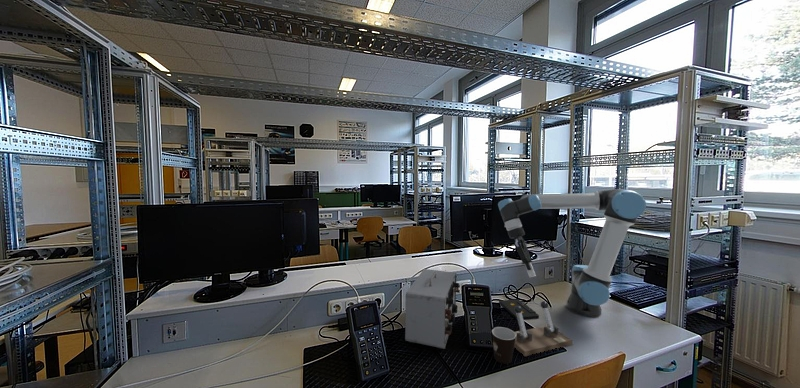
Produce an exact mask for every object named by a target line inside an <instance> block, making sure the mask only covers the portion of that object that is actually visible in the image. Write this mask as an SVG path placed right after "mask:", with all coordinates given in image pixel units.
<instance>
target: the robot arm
mask: <svg viewBox="0 0 800 388" xmlns="http://www.w3.org/2000/svg"><path fill="white" fill-rule="evenodd" d="M497 206H498V209H499V213H500V216H501V218H502V220H503V223H504V228H506V231H507V235H508V236H509V239H513V240H514V242H513V244H514V247H515V249H516V250H517V254H518V256H519V258H520V260H521V265H524V266H525V269H526V273H527V274H528V277H529V278H534V277H537V275H536V272H535V270H534V267H533V265H532V262H533V260H532V258H531V256H530V252H529V250H528V245H527V242H526V241H525V239H524V238H523V236H525V235H526V232H525V230H524V227H523V224H522V221H521V219H520V216H521V215H524V214H527V213H531V212H533V211H537V210H539V209H542V210H543V209H544V210H545V209H546V210H547V209H555V210H556V209H557V210H559V209H594V210H596V211H604V213H603V217H604V218H605V221H604V224H603V227H602V229H601V231H600V235H599V238H598V240H597V242H596V245H595V248H594V250H593V252H592V253H593V254H592V255H591V258H590V261H589V262H588V263H589V264H588V265H586V264H585V265H584V264H575V265H573V266H572V269H571V272H572V274H571V287H570V289H571V292H570V294H569V296H568V298H567V301H566V308H567V309H568V310H569V311H570V312H572V313H574V314H577V315H579V316H580V315H581V316H584V317H588V318H589V317H590V318H598V317H601V316H602V306H601V305H605V304H606V303H608V301H609V299H610V296H611V293H610V287H611V284H612V281H613V279H612V277H611V273H612V271H613V267H614V265H615V263H616V260H617V257H618V255H619V253H620V250H621V248H622V245H623V243H624V240H625V237H626V236H627V233H628V230H629V228H630V227H631V226H633V225H635V224H636V222H637V219H638V218H639V217H640V216H642V215H644V212H645V211H646V208H647V202H646V200H645V198H644V196H643V195H642V194H640V193H638V192H637V191H635V190H631V189H630V190H629V189H623V188H615V189H613V188H612V189H606V190H596V191H594V192H588V193H587V192H586V193H560V194H559V193H551V194H550V193H549V194H536V193H535V194H529V193H528V194H523V195H522V196H521V197H520V199H517V200H512V198H504V199H502V200H500V201H498V203H497Z"/></svg>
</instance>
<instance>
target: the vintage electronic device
mask: <svg viewBox="0 0 800 388" xmlns="http://www.w3.org/2000/svg"><path fill="white" fill-rule="evenodd" d="M460 287H461V286H460V283H459V282H457V272H453V271H446V270H437V269H428V268H423V269H422V271H421V272H420V273H419V275H418V276H417V278H416V279H415V280H414V282H413V283H412V284H411V285H410V287H409V288H408V290H407V291H406V292H405V305H404V306H405V307H404V308H405V312H404V313H405V317H404V318H405V319H404V320H405V322H404V323H405V332H404V333H405V334H404V340H405V341H406V342H408V343H410V344H419V345H420V344H421V345H425V346H429V347H435V348H437V349H438V350H442V349H443V350H444V349H446V346H447V343H448V340H449V336H450V335H451V334H452V332H453V331H452V330H453V327H452V326H453V324H454V323H455V321H456V314H457V313H458V305H457V293H459V294H460V292H461V291H460V289H459V288H460ZM457 288H458V289H457Z"/></svg>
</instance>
